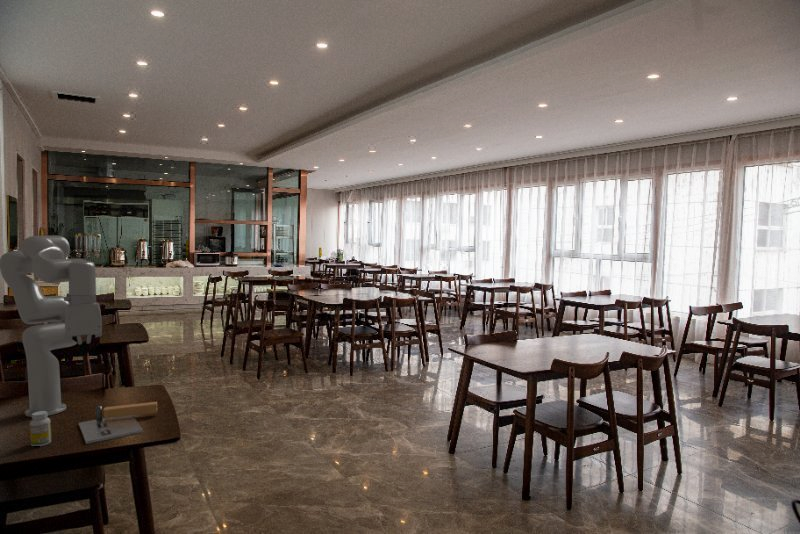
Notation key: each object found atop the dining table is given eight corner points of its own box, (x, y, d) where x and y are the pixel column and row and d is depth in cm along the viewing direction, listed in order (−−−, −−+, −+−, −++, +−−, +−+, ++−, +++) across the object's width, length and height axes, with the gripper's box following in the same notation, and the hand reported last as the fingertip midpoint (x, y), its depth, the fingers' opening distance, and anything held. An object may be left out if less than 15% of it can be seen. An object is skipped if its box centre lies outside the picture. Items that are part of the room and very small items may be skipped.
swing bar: (103, 418, 184) (103, 410, 183) (105, 415, 186) (104, 407, 186) (156, 412, 189) (156, 404, 189) (157, 409, 192) (157, 401, 192)
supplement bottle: (44, 447, 164) (42, 416, 163) (26, 447, 164) (24, 416, 163) (55, 440, 169) (53, 410, 168) (38, 440, 169) (36, 410, 169)
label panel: (78, 425, 182) (77, 409, 181) (131, 415, 191) (130, 399, 191) (86, 444, 166) (85, 426, 165) (143, 432, 175) (142, 415, 175)
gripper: (56, 303, 167) (58, 361, 169) (110, 299, 176) (111, 355, 178) (54, 299, 173) (56, 355, 175) (107, 296, 182) (108, 349, 184)
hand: (84, 355), depth 177 cm, fingers closed
